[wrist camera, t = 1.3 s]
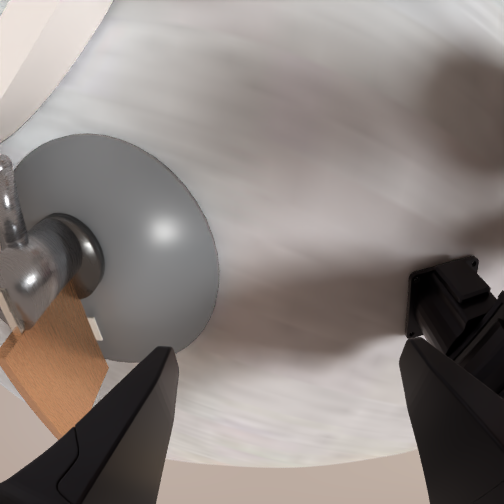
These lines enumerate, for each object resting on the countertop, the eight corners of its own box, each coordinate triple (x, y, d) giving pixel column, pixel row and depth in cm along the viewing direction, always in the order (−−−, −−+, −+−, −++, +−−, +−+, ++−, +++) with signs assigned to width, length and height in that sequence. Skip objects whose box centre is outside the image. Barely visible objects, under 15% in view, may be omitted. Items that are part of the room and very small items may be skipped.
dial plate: (249, 344, 24) (249, 352, 23) (64, 361, 26) (62, 366, 25) (169, 88, 15) (165, 88, 14) (-26, 190, 18) (-32, 194, 17)
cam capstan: (12, 148, 15) (-91, 195, 7) (81, 130, 15) (-38, 171, 7) (78, 356, 24) (38, 437, 16) (138, 364, 24) (106, 458, 15)
